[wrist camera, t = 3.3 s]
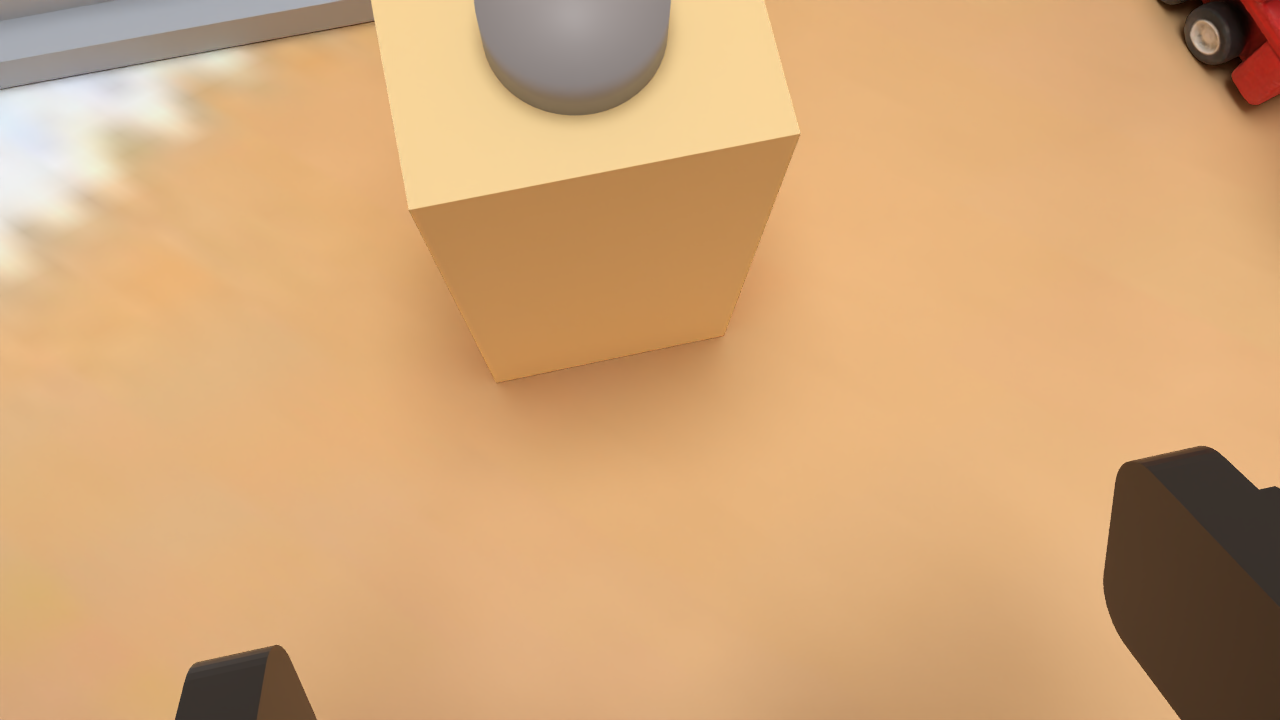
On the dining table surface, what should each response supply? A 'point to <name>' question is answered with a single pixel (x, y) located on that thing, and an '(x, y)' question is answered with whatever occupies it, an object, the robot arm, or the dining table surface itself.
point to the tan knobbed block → (587, 165)
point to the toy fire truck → (1239, 42)
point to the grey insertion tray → (147, 31)
